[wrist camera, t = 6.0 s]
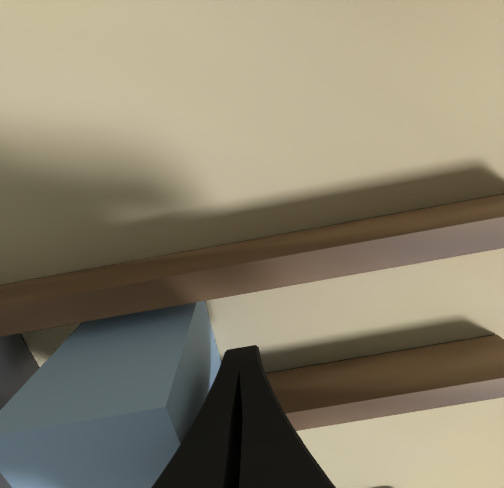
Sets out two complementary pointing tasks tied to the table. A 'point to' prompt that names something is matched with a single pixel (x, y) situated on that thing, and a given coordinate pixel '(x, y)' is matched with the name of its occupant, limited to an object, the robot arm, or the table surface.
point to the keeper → (111, 401)
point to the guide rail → (280, 275)
